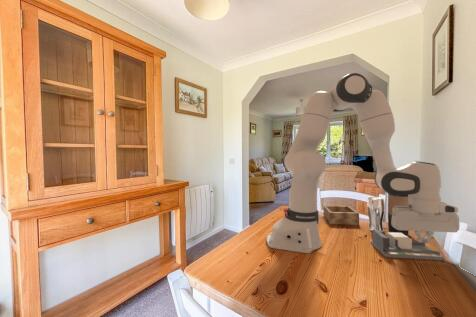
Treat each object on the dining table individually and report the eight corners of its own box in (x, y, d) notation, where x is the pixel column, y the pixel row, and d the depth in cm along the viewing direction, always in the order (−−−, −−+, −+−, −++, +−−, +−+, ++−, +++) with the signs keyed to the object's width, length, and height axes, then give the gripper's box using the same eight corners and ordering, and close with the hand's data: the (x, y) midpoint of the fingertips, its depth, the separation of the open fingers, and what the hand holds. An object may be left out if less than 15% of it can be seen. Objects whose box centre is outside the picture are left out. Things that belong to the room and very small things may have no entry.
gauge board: (385, 257, 72) (385, 250, 72) (370, 243, 83) (370, 237, 83) (443, 260, 69) (443, 254, 69) (420, 245, 80) (420, 240, 80)
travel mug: (413, 236, 88) (413, 191, 88) (393, 235, 90) (393, 191, 89) (402, 230, 96) (402, 188, 95) (384, 229, 97) (384, 188, 97)
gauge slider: (399, 253, 72) (399, 241, 71) (386, 243, 80) (386, 232, 80) (416, 254, 71) (416, 242, 71) (401, 243, 79) (401, 232, 79)
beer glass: (385, 233, 92) (385, 201, 92) (367, 230, 96) (367, 199, 95) (384, 228, 98) (383, 197, 98) (366, 226, 102) (366, 196, 101)
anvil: (383, 251, 74) (383, 238, 74) (372, 241, 82) (372, 229, 81) (389, 251, 73) (389, 238, 73) (377, 242, 81) (377, 229, 81)
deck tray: (330, 223, 106) (330, 212, 106) (323, 215, 120) (323, 205, 120) (359, 224, 104) (359, 213, 103) (348, 216, 117) (348, 205, 117)
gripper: (397, 206, 73) (397, 244, 74) (463, 208, 70) (463, 247, 70) (387, 202, 79) (387, 237, 80) (448, 203, 76) (447, 239, 76)
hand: (423, 242), depth 75 cm, fingers closed
